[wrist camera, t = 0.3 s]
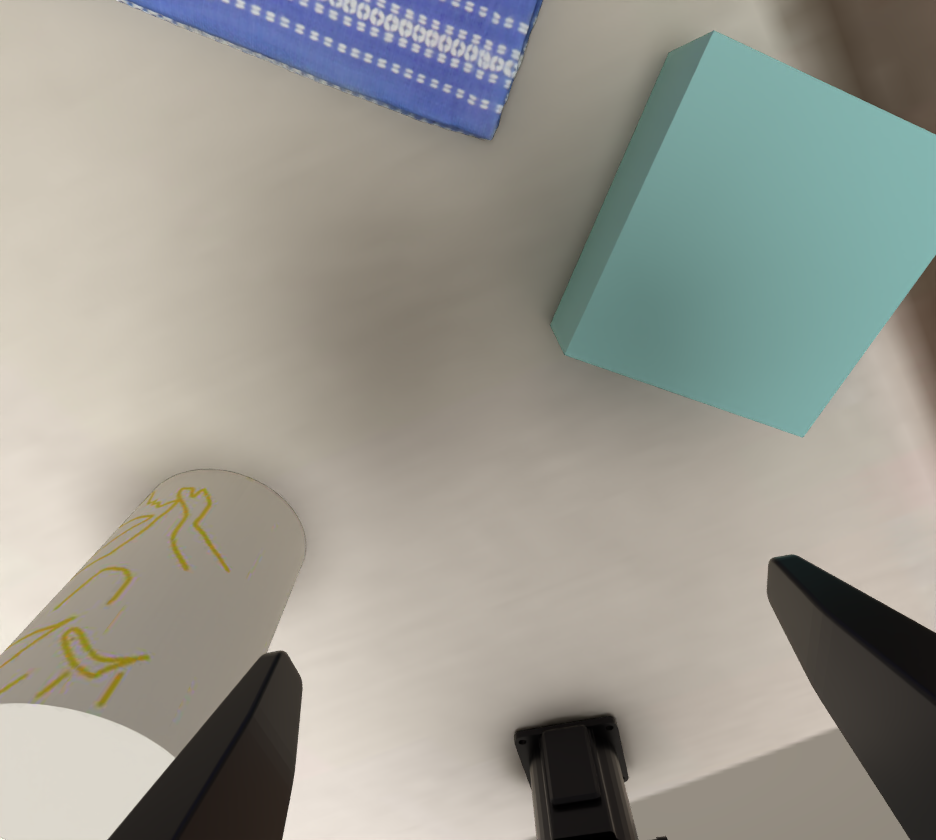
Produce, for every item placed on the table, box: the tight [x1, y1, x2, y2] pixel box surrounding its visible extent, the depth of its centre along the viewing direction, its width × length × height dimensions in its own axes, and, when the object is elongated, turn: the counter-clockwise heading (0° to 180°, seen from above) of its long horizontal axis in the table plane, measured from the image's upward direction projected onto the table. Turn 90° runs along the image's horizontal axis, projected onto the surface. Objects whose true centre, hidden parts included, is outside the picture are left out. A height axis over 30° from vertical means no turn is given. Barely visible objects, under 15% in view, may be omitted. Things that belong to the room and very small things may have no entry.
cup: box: [0, 469, 306, 840], centre depth 22 cm, size 8×8×12 cm
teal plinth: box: [550, 31, 936, 437], centre depth 19 cm, size 10×10×4 cm
